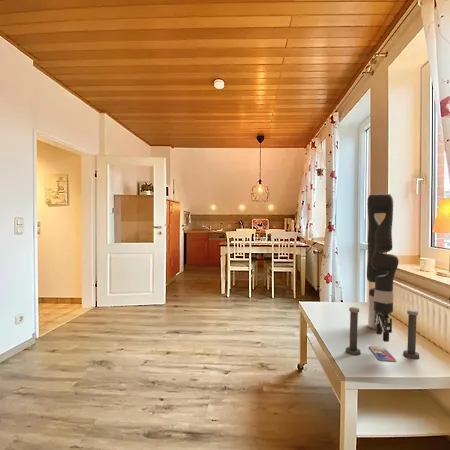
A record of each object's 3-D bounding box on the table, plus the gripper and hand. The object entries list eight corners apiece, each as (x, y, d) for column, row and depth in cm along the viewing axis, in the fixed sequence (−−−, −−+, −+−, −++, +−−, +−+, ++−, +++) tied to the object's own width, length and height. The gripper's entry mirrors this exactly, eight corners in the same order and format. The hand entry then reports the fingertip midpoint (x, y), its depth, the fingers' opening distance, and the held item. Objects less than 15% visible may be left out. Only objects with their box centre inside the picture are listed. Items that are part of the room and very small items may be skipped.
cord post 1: (344, 349, 151) (345, 306, 150) (358, 350, 150) (359, 307, 150) (347, 354, 145) (348, 310, 144) (362, 355, 144) (363, 310, 144)
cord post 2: (401, 352, 148) (402, 308, 148) (415, 353, 148) (416, 309, 147) (406, 358, 142) (408, 312, 142) (421, 359, 142) (423, 313, 141)
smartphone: (385, 346, 153) (397, 360, 138) (384, 348, 153) (397, 363, 138) (367, 345, 154) (378, 359, 139) (367, 347, 154) (378, 361, 139)
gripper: (369, 296, 153) (368, 331, 154) (379, 304, 139) (378, 343, 139) (386, 296, 152) (385, 332, 153) (399, 305, 138) (398, 344, 139)
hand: (382, 337), depth 146 cm, fingers open, 8 cm apart
